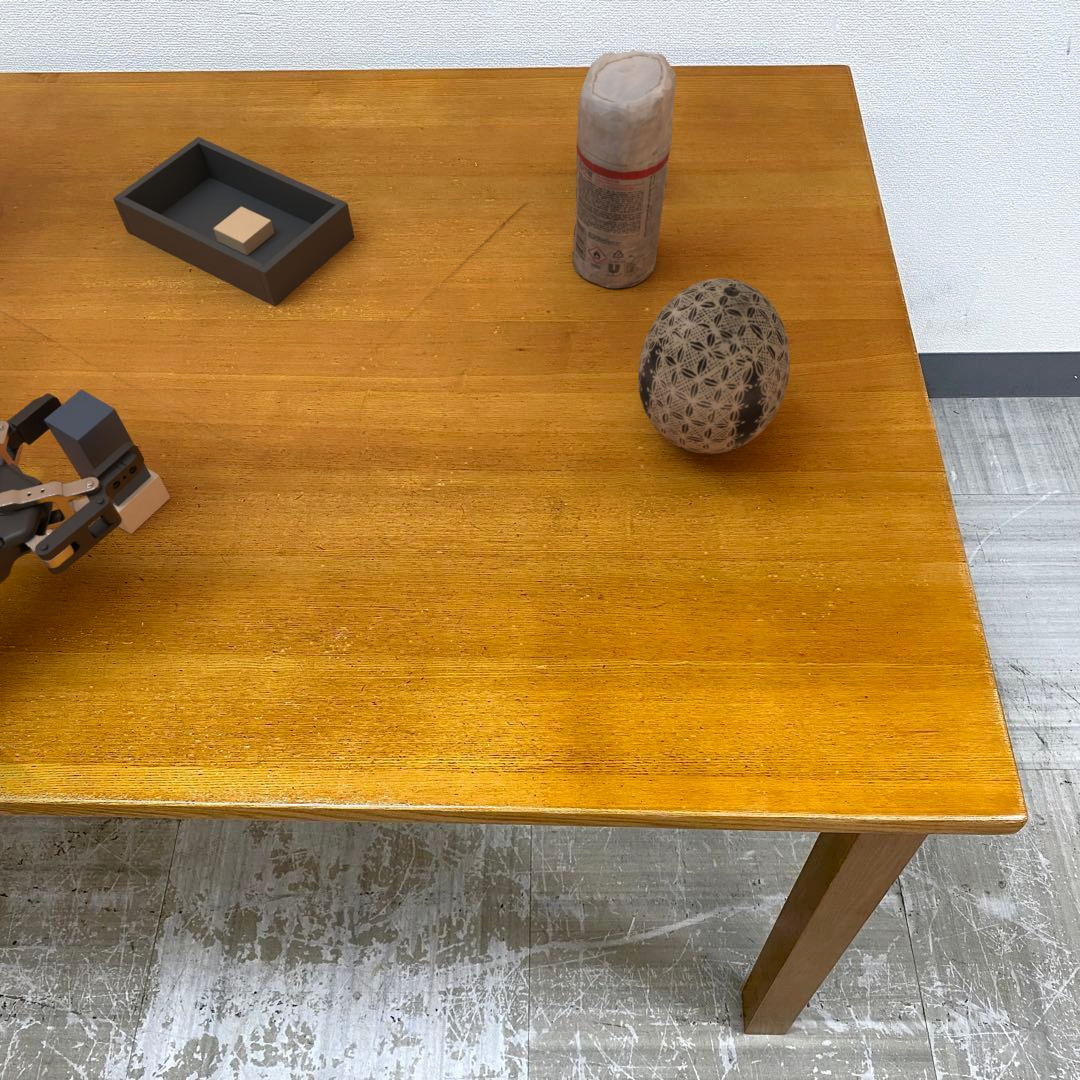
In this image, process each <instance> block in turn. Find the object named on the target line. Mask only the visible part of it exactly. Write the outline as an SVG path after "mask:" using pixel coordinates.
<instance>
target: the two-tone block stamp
mask: <svg viewBox="0 0 1080 1080" xmlns="http://www.w3.org/2000/svg"><path fill="white" fill-rule="evenodd" d="M44 421H45V423H46V424H47V426H48V427H49V431H50V433H51V434H52V436H53V437H54V439H55V440H56V442H57V443H58V445H59V447H60V448H61V449H62V451H63V453H64V454H65V455H66V458H67V459H68V461H69V462H70V463H71V465H72V467H73V468H74V470H75V471H76V474H77V475H78V476H79V478H80V480H81V479H84V478H88V477H92V475H91V474H90V473H91V472H92V471H93V470H94V469H95V468H97V467H98V466H99V465H100V464H101V463H102V462H103V461H105V460H106V459H107V458H108V457H109V456H110V455H111V454H113V453H114V452H115V451H116V450H117V449H118V448H119V447H121V446H122V445H123V444H124V443H125V442H131V443H132V444H134V445H135V443H134V442H133V439H132V437H131V436H130V433H129V432H128V430H127V428H126V427H125V425H124V422H123V421H122V419H121V418H120V416H119V414H118V412H117V410H116V408H114V407H113V406H111V405H109V404H107V403H106V402H105V401H102V400H101V399H99V398H97V397H95V395H92V394H91V393H89V392H87V391H86V390H84V389H79V390H78V391H77V392H76V393H75V394H73V395H72V396H71V397H70V398H69V399H67V400H66V401H65V402H64V403H63V404H62V405H61V406H60V407H59V408H58V409H56V410H55V411H54V412H53V413H52V414H50V415H49V416H48V417H47V418H46V419H44ZM142 466H143V468H142V470H141V472H140V473H139V474H138V475H137V476H136V477H135V478H133V479H132V480H131V481H130V482H129V483H128V484H127V485H126V486H125V487H124V488H122V489H121V490H120V491H119V492H118V493H117V494H116V495H115V496H114V498H113V501H112V502H113V505H114V506H115V508H116V510H117V511H118V513H119V515H120V516H121V518H122V522H121V524H120V525H119V526H118V528H120V529H122V530H124V532H125V533H126V532H127V533H128V534H129V535H132V534H134V532H136V531H137V530H138V529H139V528H140V527H141V526H142V525H143V524H144V523H146V521H147V520H148V519H150V518H151V517H152V516H153V515H154V514H155V513H156V512H157V511H158V510H159V509H160V508H161V507H162V506H163V505H165V503H167V502H168V501H169V500H170V499H171V496H170V494H169V491H168V490H167V488H166V485H165V484H164V483H163V480H162V479H161V476H160V475H159V474H157V473H156V472H154V471H153V470H151V469H149V468H148V467H147V466H146V464H145V462H144V463H143V465H142ZM86 497H87V496H84V497H83V498H86Z"/></svg>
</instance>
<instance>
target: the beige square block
mask: <svg viewBox="0 0 1080 1080" xmlns="http://www.w3.org/2000/svg"><path fill="white" fill-rule="evenodd" d="M213 229H214V232H215V235H216V238H217V241H218V242H220V243H222V244H224V245H226V246H228V247H231V248H233V249H235V250H237V251H239V252H241V253H243V254H245V255H249V254H250V253H251V252H253V251H254V250H255V249H256V248H257V247H259V246H260V245H261V244H262V243H263V242H265V241H266V240H267V239H268V238H270V237H271V236H272V235H273V234H274V233H275V232H274V228H273V225H272V221H271V220H270V219H267V218H265V217H263V216H261V215H259V214H257V213H255V212H252V211H250V210H248V209H246V208H244V207H242V206H241V207H240V208H238V209H237V210H236V211H235V212H233V213H232V214H231V215H230V216H228V217H227V218H226V219H224V220H223V221H222V222H221V223H219V224H218V225H217V226H216V227H214V228H213Z"/></svg>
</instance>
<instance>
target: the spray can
mask: <svg viewBox="0 0 1080 1080" xmlns="http://www.w3.org/2000/svg"><path fill="white" fill-rule="evenodd" d="M676 87H677V74H676V72H675V70H674V69H673V67H672V66H671V64H670V62H669V61H668V59H667V58H666V56H664V55H663V54H661V53H658V52H645V51H640V50H635V49H632V50H630V51H627V52H625V51H624V52H617V53H615V52H613V51H611V52H605V53H604V52H603V54H602V55H601V56H599V57H598V58H596V59H595V60H594V61H592V62H591V64H590V65H589V69H588V72H587V74H586V76H585V79H584V82H583V84H582V87H581V90H580V93H579V99H578V105H579V106H578V108H577V129H576V175H575V180H576V185H575V224H574V229H573V251H572V252H571V259H572V264H573V268H574V270H575V271H576V273H577V274H578V275H580V277H582V279H585V280H587V281H589V282H591V283H593V284H595V285H598V286H601V287H604V288H607V289H621V288H622V289H624V288H631V287H633V286H637V285H639V284H640V283H642V282H643V281H645V280H646V279H647V278H649V277H650V275H652V273H653V272H654V271H655V269H656V265H657V264H656V263H657V257H658V252H657V250H658V245H659V237H660V231H661V224H662V214H663V205H664V200H665V192H666V183H667V176H668V169H669V168H668V167H669V158H670V152H671V148H672V141H673V123H674V106H675V94H676Z"/></svg>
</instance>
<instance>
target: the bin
mask: <svg viewBox="0 0 1080 1080" xmlns="http://www.w3.org/2000/svg"><path fill="white" fill-rule="evenodd" d="M112 200H113V202H114V204H115V207H116V209H117V211H118V214H119V216H120V218H121V221H122V223H123V225H124V228H125V230H126V232H127V233H128V234H130V235H131V236H133V237H136V238H138V239H140V240H142V241H143V242H146V243H147V244H150V245H152V246H154V247H156V248H158V249H159V250H161V251H163V252H166V253H168V254H169V255H171V256H173V257H176V258H177V259H179V260H181V261H183V262H185V263H187V264H189V265H191V266H193V267H195V268H197V269H199V270H201V271H203V272H205V273H207V274H209V275H211V276H213V277H215V278H216V279H219V280H221V281H223V282H225V283H227V284H229V285H231V286H233V287H235V288H237V289H239V290H241V291H243V292H244V293H247V294H248V295H251V296H252V297H255V298H257V299H259V300H260V301H263V302H265V303H266V304H269V305H271V306H273V307H277V306H278V305H279V304H281V302H283V301H284V300H285V299H286V298H287V297H288V296H290V295H291V294H292V293H293V292H294V291H295V290H297V289H298V288H299V287H301V285H302V284H303V283H305V282H306V281H307V280H308V279H309V278H310V277H311V276H313V275H314V273H316V272H317V271H318V270H320V268H322V267H323V266H324V265H325V264H327V262H328V261H330V260H331V259H332V258H333V257H334V256H335V255H337V253H339V252H340V251H341V250H342V249H344V248H345V247H346V246H347V245H348V244H350V243H351V241H353V240H354V239H355V232H354V227H353V223H352V217H351V214H350V209H349V204H348V202H346V201H344V200H342V199H339V198H337V197H334V196H332V195H330V194H328V193H325V192H323V191H321V190H319V189H317V188H314V187H312V186H310V185H308V184H306V183H303V182H301V181H299V180H296V179H294V178H292V177H290V176H287V175H285V174H283V173H280V172H278V171H276V170H274V169H272V168H269V167H268V166H265V165H263V164H260V163H258V162H256V161H254V160H252V159H250V158H247V157H245V156H242V155H240V154H238V153H235V152H233V151H232V150H229V149H228V148H224V147H222V146H221V145H217V144H215V143H213V142H212V141H209V140H206V139H204V138H202V137H200V136H197V137H196V138H194V139H193V140H192V141H190V142H188V143H187V144H186V145H185V146H183V147H182V148H180V149H178V150H177V151H176V152H175V153H173V154H172V155H171V156H169V157H168V158H166V159H165V160H164V161H162V162H161V163H160V164H158V165H156V166H154V168H153V169H151V170H150V171H149V172H147V173H146V174H144V175H142V176H141V177H140V178H139V179H137V180H136V181H134V182H133V183H132V184H130V185H129V186H127V187H126V188H124V189H123V190H122V191H120V192H119V193H117V195H115V196H113V197H112ZM241 206H242V207H244V208H246V209H248V210H250V211H252V212H255V213H257V214H259V215H261V216H263V217H265V218H267V219H270V220H271V221H272V225H273V228H274V232H275V233H274V234H273V235H272V236H271V237H270V238H268V239H267V240H266V241H265V242H263V243H262V244H261V245H260V246H259V247H257V248H256V249H255V250H254V251H253V252H251V253H250V254H249V255H245V254H243V253H241V252H239V251H237V250H235V249H233V248H231V247H228V246H226V245H224V244H222V243H220V242H218V241H217V238H216V235H215V232H214V229H213V228H214V227H216V226H217V225H218V224H219V223H221V222H222V221H223V220H224V219H226V218H227V217H228V216H230V215H231V214H232V213H233V212H235V211H236V210H237V209H238V208H240V207H241Z"/></svg>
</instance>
